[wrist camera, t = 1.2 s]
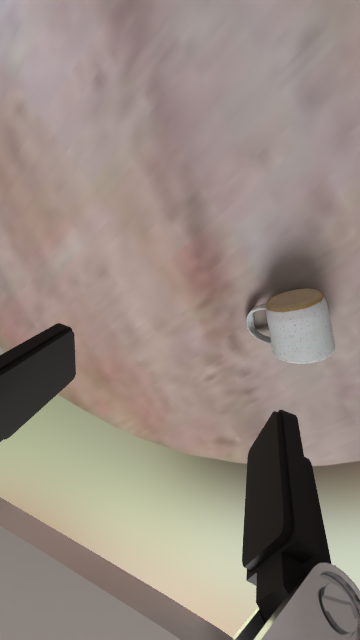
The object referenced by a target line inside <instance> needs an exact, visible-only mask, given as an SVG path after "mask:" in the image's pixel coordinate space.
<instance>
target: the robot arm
mask: <svg viewBox="0 0 360 640" xmlns="http://www.w3.org/2000/svg"><path fill="white" fill-rule="evenodd" d="M75 374H76V369H75V343H74V333H73V332H72V329H71V328H70V327H68V326H65V325H63V324H60V323H59V324H56V325H54V326H52V327H50V328H48V329H47V330H45V331H43V332H41V333H39V334H38V335H36V336H34V337H32V338H31V339H29V340H27V341H25V342H23V343H22V344H20V345H18V346H16V347H14V348H13V349H11V350H9V351H7V352H5V353H4V354H2V355H0V442H1V441H2V440H3V439H7V438H9V437H10V436H11V435H12V434H14V433H15V432H16V431H17V430H18V429H19V428H20V427H21V426H22V425H23V424H25V423H26V422H27V421H28V420H29V419H30V418H31V417H32V416H34V415H35V414H36V413H37V412H38V411H39V410H40V409H41V408H42V407H43V406H44V405H46V404H47V403H48V402H49V401H50V400H51V399H52V398H53V397H55V396H56V395H57V394H58V393H59V392H60V391H61V390H62V389H63V388H64V387H66V386H67V385H68V384H69V383H70V382H71V381H72V380H73V379H74V377H75ZM242 561H243V562H242V563H243V566H244V567H245V568H247V581H248V582H250V583H253V584H254V585H256V586H257V588H256V590H257V591H256V593H257V594H256V603H257V605H258V607H257V608H256V609H255V611H254V612H253V613H252V614H251V616H250V617H249V618H248V619H247V620H246V622H245V623H244V624H243V625H242V627H241V628H240V629H239V630H238V632H237V633H236V634H235V635H234V636H233V638H232V637H230V636H229V635H227V634H226V633H225V632H223V631H222V630H220V629H219V628H217V627H216V626H214V625H212V624H211V623H209V622H207V621H206V620H204V619H203V618H201V617H200V616H198V615H196V614H195V613H193V612H191V611H190V610H188V609H187V608H185V607H183V606H182V605H180V604H179V603H177V602H175V601H174V600H172V599H171V598H169V597H168V596H166V595H164V594H163V593H161V592H159V591H158V590H156V589H154V588H152V587H151V586H149V585H147V584H146V583H144V582H142V581H141V580H139V579H137V578H136V577H134V576H132V575H131V574H129V573H127V572H126V571H124V570H122V569H120V568H119V567H117V566H116V565H114V564H112V563H111V562H109V561H107V560H105V559H104V558H102V557H100V556H99V555H97V554H95V553H93V552H92V551H90V550H89V549H87V548H85V547H84V546H82V545H80V544H79V543H77V542H75V541H73V540H72V539H70V538H68V537H67V536H65V535H63V534H62V533H60V532H58V531H56V530H55V529H53V528H51V527H49V526H48V525H46V524H45V523H43V522H41V521H40V520H38V519H36V518H34V517H33V516H31V515H29V514H28V513H26V512H24V511H23V510H21V509H19V508H17V507H16V506H14V505H12V504H11V503H9V502H7V501H5V500H4V499H2V498H0V640H360V591H359V589H358V588H357V586H356V585H355V584H354V582H353V581H352V580H351V579H350V578H349V577H348V576H347V575H346V574H345V573H344V572H343V571H342V570H340V569H339V568H337V567H336V566H334V565H332V564H331V560H330V554H329V549H328V544H327V539H326V534H325V529H324V524H323V519H322V514H321V509H320V504H319V499H318V494H317V489H316V484H315V479H314V474H313V469H312V465H311V462H310V460H309V459H307V458H306V457H304V454H303V448H302V443H301V437H300V431H299V425H298V419H297V417H296V415H293V414H291V413H288V412H286V411H283V410H279V411H278V412H275V411H274V412H273V413H272V415H271V416H270V418H269V419H268V421H267V423H266V424H265V426H264V427H263V429H262V431H261V432H260V434H259V435H258V437H257V439H256V440H255V442H254V443H253V445H252V447H251V448H250V450H249V454H248V462H247V481H246V499H245V517H244V535H243V555H242Z"/></svg>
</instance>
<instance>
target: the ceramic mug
mask: <svg viewBox="0 0 360 640" xmlns="http://www.w3.org/2000/svg"><path fill="white" fill-rule="evenodd" d="M263 309H265V310H266V317H267V322H268V326H269V332H270V337H267V336H264V335H262V334H261V333H259V332H258V331H257V330H256V328H255V326H254V315H253V313H254V312H255V311H257V310H263ZM246 324H247V328H248V331H249V332H250V334H251V335H252V336H253V337H254V338H256V339H257V340H259V341H262V342H264V343H268V344H272V350H273V353H274V355H275V356H276V357H277V358H278V359H280V360H282V361H285V362H290V363H296V364H304V363H305V364H306V363H313V362H318V361H321V360H324V359H326V358H328V357H329V356H330V355H332V354H333V352H334V350H335V342H334V337H333V331H332V326H331V321H330V317H329V310H328V305H327V302H326V299H325V297H324V295H323V293H321V292H320V291H318V290H316V289H296V290H291V291H286V292H283V293H280V294H278V295H276V296H274V297H272V298H271V299H270V300H269V301H268V302H267V304H262V305H259V306H256V307H255V308H253V309H252V310H251V311H250V312H249V313H248V315H247V318H246Z"/></svg>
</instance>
